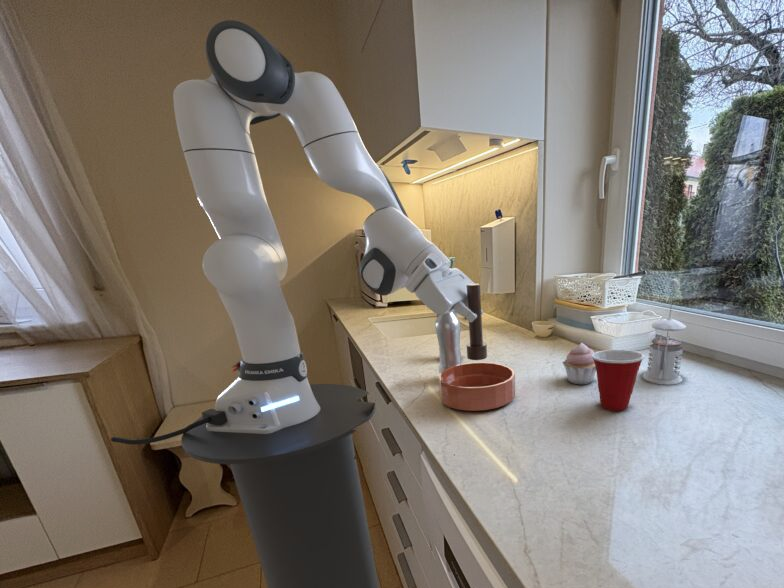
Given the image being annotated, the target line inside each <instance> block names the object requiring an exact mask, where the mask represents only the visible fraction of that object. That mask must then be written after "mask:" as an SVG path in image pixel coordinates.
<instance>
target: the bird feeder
mask: <svg viewBox="0 0 784 588" xmlns="http://www.w3.org/2000/svg"><path fill="white" fill-rule="evenodd" d="M678 284H679V280H678V279H677V278H672V279H670V281H669V285H672V290H671V291H672V293H671V301H670V308H669V316H668V318H663V319H659V320H656V321H654V322H653V323H651V325H650V326H651V328H652V329H654V330H656V331H657V330H658V331H664V332H667V333H666V337H663V334H660V337H655V338H652V340H651V344H650V345H649V349H648V351H649V352H648V358H647V359H648V360H647V361H648V362H647V370H646V372H645V373H643V374H642V378H643V379H644V380H645V381H647V382H649V383H653V384H658V385H667V386H668V385H669V386H670V385H677V384H680V383H682V382H683V377H682V376H681V375H680V373H681V372H680V371H681V364H682V361H681V360H682V356H681V355H683V347H682V344H683V342H682V341H681V340H680V339H677V338H671V337H670V335H669V332H679V331H684V330H685V329H686V328H687V326H686V324H684V323H683V322H681V321H679V320H678V319H677V320H676V319H674V318H673V319H672V318H671V314H672V307H673V306H672V305H673V300H674V292H675V291H674V290H675V285H678ZM678 365H679V366H678Z"/></svg>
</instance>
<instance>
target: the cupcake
mask: <svg viewBox="0 0 784 588" xmlns="http://www.w3.org/2000/svg"><path fill="white" fill-rule="evenodd" d="M593 353H595V351H594V350H593V349H591V348H590V347H588V346H587V345H586V344H584V343H583V342H580V343H579V345H577V346H575V347H572V349H570V351H569V353H567V355H566V359H564V361H562V365H563V367H564V369H565V372H566V377H567V380H568V382H569V383H571V384H575V385H589V384H591V383H592V382H593V381H594V378H595V375H596V373H597V372H596V367H595V363H594V360H593V358H592V354H593Z"/></svg>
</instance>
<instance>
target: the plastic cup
mask: <svg viewBox="0 0 784 588" xmlns="http://www.w3.org/2000/svg"><path fill="white" fill-rule="evenodd" d="M592 358H593V360H594V363H595V367H596V372H595V373H596V378H597V380H596V381H597V389H598V393H599V403H600V406H601V407H602V408H603V409H605V410H608V411H611V412H612V411H615V412H621V411H624V410H626V409H627V408H628V406H629V404H630V401H631V397H632V395H633V392H634V388H635V384H636V380H637V377H638V373H639V370H640V367H641V364H642V361H643V360H644V358H645V354H643V353H642V352H639V351H635V350H628V349H604V350H599V351H596V352H595V351H594V353H593V354H592Z"/></svg>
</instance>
